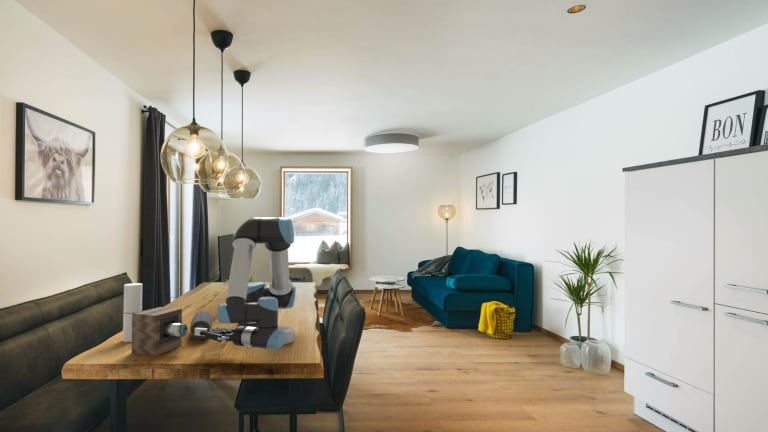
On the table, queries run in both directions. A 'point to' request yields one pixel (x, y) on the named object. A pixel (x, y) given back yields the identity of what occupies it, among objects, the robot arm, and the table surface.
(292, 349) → the table surface
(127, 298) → the cylindrical container
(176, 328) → the peg
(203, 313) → the bluetooth speaker
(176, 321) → the housing
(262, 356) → the table surface
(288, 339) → the ramekin
